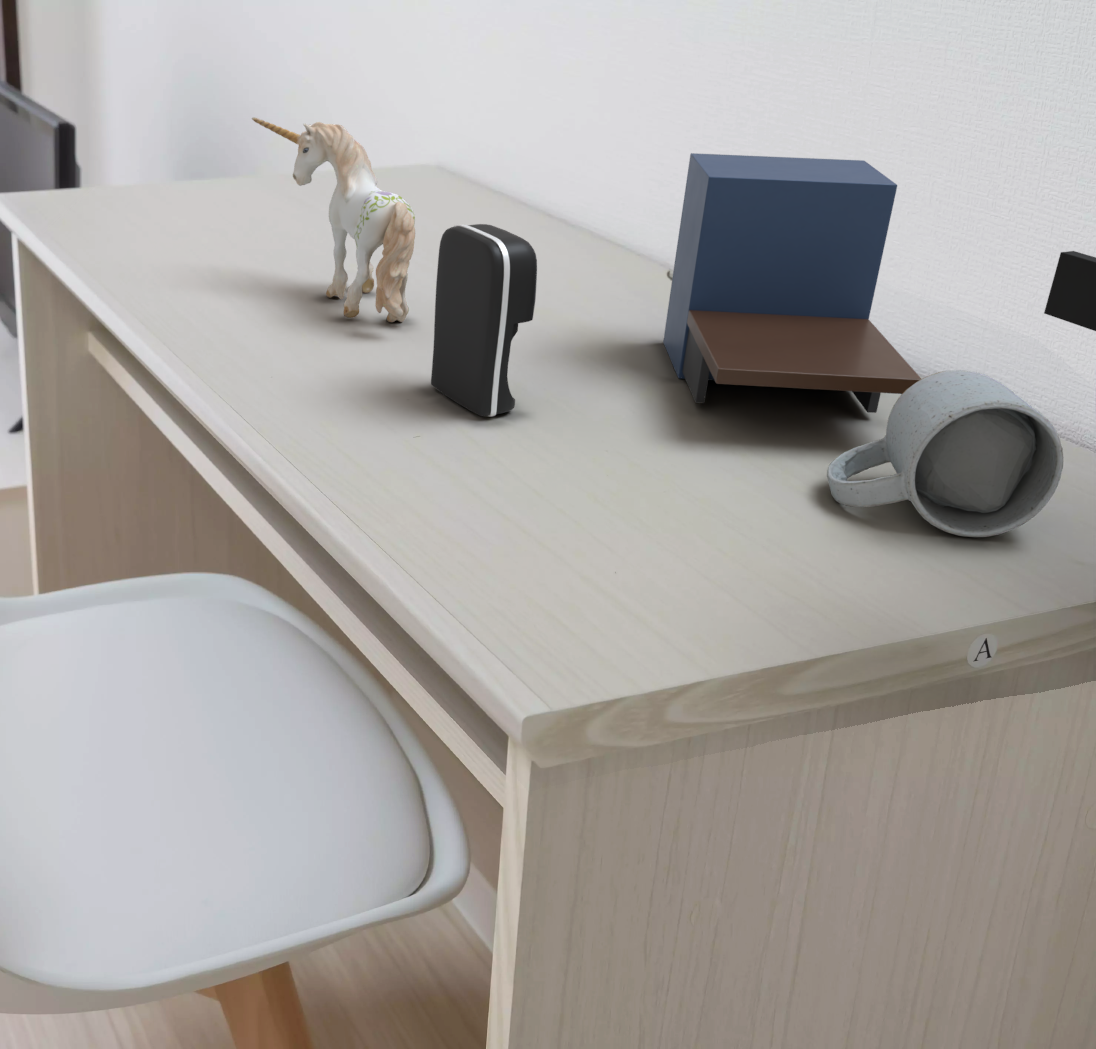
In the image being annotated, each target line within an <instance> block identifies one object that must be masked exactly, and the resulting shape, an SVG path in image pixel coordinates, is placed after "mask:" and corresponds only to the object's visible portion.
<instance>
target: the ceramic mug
mask: <svg viewBox="0 0 1096 1049" xmlns="http://www.w3.org/2000/svg"><path fill="white" fill-rule="evenodd" d="M892 406H893V407H892V408H891V410H890V412H889V415H888V418H887V423H886V430H885V435H884V437H883V438H880V439H876V440H873V441H870V442H867V443H865V444H862V445H861V444H860V445H858V446H855V447H852V448H851V449H849V450H846V451H844V452H842V453H841V454H839V456H837V457H836V458H834V459H833V460H832V461H831V462H830V463H829V465H828V467H827V469H826V479H827V483H828V486H829V490H830V493H831V496H832V497H833V499H834V501H836V502H837V503H839V504H840V505H845V506H847V507H855V508H871V507H878V506H884V505H889V504H894V503H900V502H904V501H909V502H911V504H912V505H913V507H914V509H915V510H916V511H917V513H918V514H919V515H920V516H921V517H922V519H924V520H925V521H926V522H928V524H930V525H932V526H933V527H935V528H937V529H939V530H941V531H943V532H945V533H948V534H951V535H955V536H959V537H966V538H988V537H993V536H998V535H1002V534H1004V533H1005V534H1006V533H1007V532H1010V531H1012V530H1015V529H1017V528H1019V527H1021V526H1023V525H1024V524H1026V523H1027V522H1029V521H1030V520H1032V519H1033V518H1035V517H1036V516H1037V515H1038V514H1039V513H1040V512H1041V511H1042V510H1043V509H1044V508H1045V506H1046V505H1047V504H1048V503H1049V501H1051V498H1052V497H1053V495H1054V494H1055V492H1056V490H1057V488H1058V486H1059V483H1060V480H1061V477H1062V472H1063V469H1064V451H1063V450H1064V449H1063V448H1064V447H1063V445H1062V442H1061V437H1060V435H1059V434H1058V431H1057V429H1056V428H1055V426H1054V424H1053V423H1052V422H1051V421H1050V420H1049V418H1047V417H1046V416H1045V415H1044V414H1043V413H1041V412H1040V411H1038V410H1037V409H1036V408H1035V407H1033V406H1032V405H1030V404H1029V403H1028V402H1027V401H1025V400H1024V399H1023V398H1022V397H1020V396H1019V395H1018V394H1016V393H1015V392H1014V391H1013V390H1011V389H1010V388H1009V387H1008V386H1006V385H1005V384H1004V383H1002V382H1001V381H1000V380H997V379H995V378H993V377H991V376H989V375H986V374H984V373H980V372H976V371H971V370H964V369H963V370H961V369H957V370H955V369H954V370H944V371H939V372H935V373H932V374H929V375H927V376H925V377H923V378H921V379H920V380H919V381H918V382H916V383H915V384H913V385H912V386H911V387H909V388H908V389H906V390H905V391H904V392H903V393H902V394H900V395H899V397H898V398H897V399H896V402H895V403H894V404H893V405H892ZM887 463H891V465H892V468H893V469H894V471H895V473H896V474H893V475H888V476H881V477H877V478H873V479H866V480H848V479H849V478H851V477H852V476H855V475H857V474H860V473H861V472H864V471H866V470H869V469H871V468H876V467H878V466H882V465H884V464H887Z"/></svg>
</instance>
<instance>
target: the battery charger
mask: <svg viewBox="0 0 1096 1049" xmlns="http://www.w3.org/2000/svg"><path fill="white" fill-rule="evenodd" d="M437 258H438V259H437V270H436V281H435V282H436V286H435V288H436V289H435V303H434V323H433V324H434V326H433V328H434V329H433V351H432V363H431V375H430V385H431V386H432V387H433V388H434V389H436V390H437V391H439V392H440V393H441V394H443V395H445V396H446V397H447V398H450V399H451V400H452V401H453V402H455V403H456V404H458V405H460V406H462V407H463V408H465V409H466V410H468V411H470V412H472V413H474V414H476V415H478V416H480V417H495V416H496V415H501V414H504V413H507V412H511V411H512V410H513V409H514V408H515V407H516V406H515V405H516V399H515V398H514V396H513V395H512V392H511V389H510V386H509V379H508V372H509V362H510V354H511V346H512V341H513V339H514V338H515V336H516V334H517V333H518V332H519V331H518V330H519V324H523V323H529V322H531V321H533V319H534V313H535V307H536V296H537V281H538V259H537V258H538V257H537V254H536V252H535V248H534V247H533V246H532V245H531V244H530V242H529V241H527V240H526V239H525V238H523V237H520V236H518V235H516V234H515V233H513V232H510V231H508V230H506V229H503V228H500V227H497V226H495V225H491V224H487V223H476V224H463V223H462V224H456V225H455V224H454V226H451V227H449V228H447V229H445V231H444V232H443V234H442V236H441V238H440V241H439V248H438V257H437Z"/></svg>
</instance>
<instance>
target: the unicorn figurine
mask: <svg viewBox="0 0 1096 1049" xmlns="http://www.w3.org/2000/svg"><path fill="white" fill-rule="evenodd" d="M251 120H252V121H253V122H254V123H256V124H259V126H262V127H264V128H265V129H267V130H270V131H271V132H273V133H275V134H276V135H278V136H281V137H283V139H287V140H288V141H290V142H292V143H293V144H295V145H298V148H297V156H296V158H295V161H294V165H293V166H294V167H293V171H292V178H293V180H294V181H295V182H296V184H297V185H298V186H300V187H302V186H305V185H309V184H311V182H312V180H313V179H312V178H313V177H312V175H313V174H314V172H315V171H316V170H317V168H319V167H320V166H321V165H323V164H325V163H326V162H328V163H330V165H331V166H332V168H333V171H334V173H335V179H336V185H335V187H334V191H333V193H332V197H331V199H330V202H329V205H328V221H329V224H330V227H331V232H332V237H333V242H334V246H333V260H334V274H333V277H332V282H331V283H330V284H329V285H328V288H327V290H326V292H325V296H326V297H327V298H330V299H331V298H333V297H334V296H336V297H338V298H339V299H340V300H341V301H342V300H343V299H344V298H345V291H346V288H347V282H348V281H349V277H348V273H347V271H346V269H345V266H344V264H345V260H346V257H347V248H346V240H347V236H348V235H349V236H350V238H352V239H353V240H354V242H355V246H356V248H355V249H356V250H355V259H356V260H355V261H356V266H357V271H356V275H355V278H354V280H353V281H352V283H351V285H350V286H349V287H348V288H347V291H346V299H345V301H344V304H343V316H344V317H345V318H349V319H352V318H356V317H357V316H359V314H360V303H361V300H362V298H363V294H368V293H371V292H372V291H373V290H374V288H375V279H374V277H373V272H374V265H373V264H372V263H371V258H372V256H373V254H374V253H375V251H377V249H379V248H380V247H381V246H382V248H383V249H382V251H381V254H382V257H381V258H380V260H379V261H378V263H377V265H376V267H375V278H376V289H375V304H374V307H375V309H376V311H377V314H381V313H382V310H383V308H384V309H385V310H386V311H387V312H388V314H387V315H386V321H387V322H388V323H394V322H395V321H398V322H400V323H403V322H404V321H405V320H406V318H407V316H408V314H409V311H410V308H409V305H408V302H407V297H406V287H407V283H408V278H409V273H408V270H409V266H410V261H411V259H412V257H413V254H414V249H415V239H416V227H415V224H416V214H415V213H414V210H413V208H412V206H411V205H410V204H409V202H408V201H407V200H405V199H404V198H403V197H402V196H400V195H399V194H397V193H394V192H391V191H385V190H381V189H380V188H379V187H378V186H377V185H378V178H377V176H376V175H375V174H376V173H375V172H374V170H373V169H372V162H371V160H370V159H369V156H368V153H367V150H366V149H365V148H364V146H363V145H362V144H361V143H359V142H358V141H357V140H356V139H355V137H354V136H353V135H351V133H349V131H348V130H347V129H346V127H345V126H343V125H341V124H339V123H338V124H334V123H324V122H321V121H316V122H314V123H312V124H310V123H309V124H307V123H302V125H303V126H304V128H305V131H302V132H301V133H300V134H299V133H296V132H295V131H290V130H288V129H286V128H283V127H281V126H278V125H276V124H274V123H271V122H268V121H265V120H263V119H260V118H258V117H254V116H253V117H252V118H251Z"/></svg>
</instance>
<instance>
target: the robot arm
mask: <svg viewBox="0 0 1096 1049" xmlns="http://www.w3.org/2000/svg"><path fill="white" fill-rule="evenodd" d="M1051 283H1052V284H1051V286H1050V287H1051V288H1050V290H1049V293H1048V297H1047V301H1046V305H1045V308H1044V312H1043V314H1045V315H1047V316H1050V317H1053V318H1056V319H1059V320H1061V321H1064V322H1067V323H1071V324H1073V325H1076V326H1079V327H1082V328H1085V329H1088V330H1091V331H1094V332H1096V256H1092V255H1090V254H1085V253H1082V252H1079V251H1076V250H1070V251H1069V250H1068V251H1060V254H1059V257H1058V260H1057V265H1056V268H1055V272H1054V275H1053V279H1052V282H1051Z"/></svg>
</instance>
